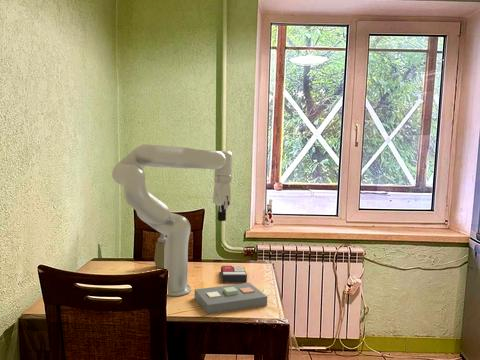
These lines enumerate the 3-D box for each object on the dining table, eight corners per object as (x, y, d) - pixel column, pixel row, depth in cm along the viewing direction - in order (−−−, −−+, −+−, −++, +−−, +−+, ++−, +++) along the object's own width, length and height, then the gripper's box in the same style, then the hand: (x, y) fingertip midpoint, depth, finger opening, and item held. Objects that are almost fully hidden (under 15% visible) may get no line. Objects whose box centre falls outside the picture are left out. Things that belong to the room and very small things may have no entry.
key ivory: (209, 303, 154) (209, 296, 154) (205, 299, 158) (206, 292, 158) (220, 301, 156) (220, 295, 156) (216, 297, 160) (216, 291, 160)
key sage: (227, 298, 157) (227, 291, 157) (223, 294, 161) (223, 287, 161) (237, 296, 159) (237, 290, 158) (233, 292, 163) (233, 286, 162)
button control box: (243, 264, 197) (247, 273, 182) (243, 273, 197) (246, 283, 182) (220, 264, 196) (222, 273, 181) (220, 273, 196) (222, 283, 181)
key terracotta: (243, 298, 160) (244, 292, 160) (239, 294, 164) (239, 288, 164) (253, 297, 162) (254, 291, 161) (249, 293, 166) (249, 287, 165)
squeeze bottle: (156, 264, 204) (156, 228, 202) (172, 265, 203) (172, 229, 202) (152, 269, 196) (152, 232, 194) (169, 270, 195) (169, 233, 194)
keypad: (207, 314, 148) (208, 304, 148) (194, 298, 162) (194, 289, 162) (266, 305, 158) (267, 296, 157) (249, 290, 172) (249, 282, 172)
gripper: (209, 177, 185) (208, 217, 186) (221, 181, 171) (219, 224, 173) (224, 177, 188) (223, 217, 190) (237, 181, 174) (236, 223, 176)
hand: (221, 220), depth 181 cm, fingers closed
